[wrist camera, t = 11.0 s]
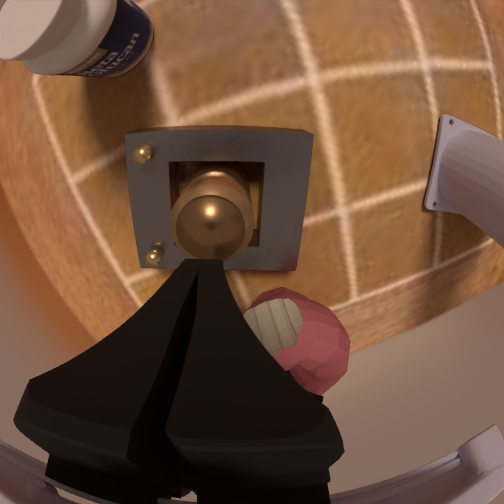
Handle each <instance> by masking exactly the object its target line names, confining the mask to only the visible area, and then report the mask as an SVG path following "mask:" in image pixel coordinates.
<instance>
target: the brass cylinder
mask: <svg viewBox="0 0 504 504" xmlns="http://www.w3.org/2000/svg"><path fill="white" fill-rule="evenodd" d="M253 228H254V224H253V214H252V206H251V198H250V189H249V183H248V179H247V177H246V175H245V173H244V172H243V171H242V169H241V168H240V167H238V166H237V165H236V164H234V163H232V162H229V161H209V162H206V163H204V164H203V165H201V166H200V167H199V168H197V170H196V171H195V172H194V174H193V175H192V177H191V178H190V180H189V181H188V183H187V185H186V186H185V188H184V190H183V191H182V193H181V195H180V196H179V198H178V200H177V201H176V203H175V205H174V206H173V208H172V211H171V213H170V218H169V229H170V234H171V237H172V239H173V241H174V243H175V244H176V246H177V247H178V248H179V249H180V250H181V251H182V252H183V253H184V254H185V255H187V256H188V257H190V258H192V259H221V260H222V261H223V262H226V261H229V260H231V259H233V258H235V257H237V256H238V255H239V254H241V253H242V252H243V251H244V250H245V248H246V247H247V246H248V244H249V242H250V240H251V238H252V235H253Z"/></svg>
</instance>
